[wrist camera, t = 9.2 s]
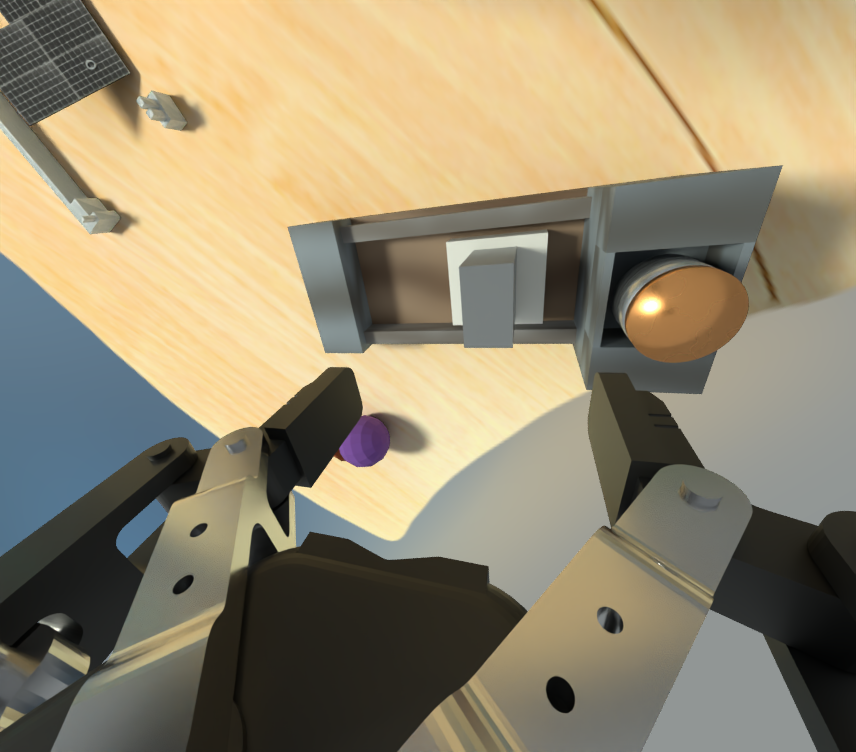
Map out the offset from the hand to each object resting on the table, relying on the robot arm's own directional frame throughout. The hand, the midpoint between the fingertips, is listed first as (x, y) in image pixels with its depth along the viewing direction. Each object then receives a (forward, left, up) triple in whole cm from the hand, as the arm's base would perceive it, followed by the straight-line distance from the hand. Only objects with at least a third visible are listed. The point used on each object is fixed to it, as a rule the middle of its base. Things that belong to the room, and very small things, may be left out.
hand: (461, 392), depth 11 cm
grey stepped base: (0, -2, -19) cm, 19 cm away
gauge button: (0, +9, -11) cm, 14 cm away
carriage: (0, 0, -17) cm, 17 cm away
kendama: (+20, -22, -20) cm, 36 cm away
